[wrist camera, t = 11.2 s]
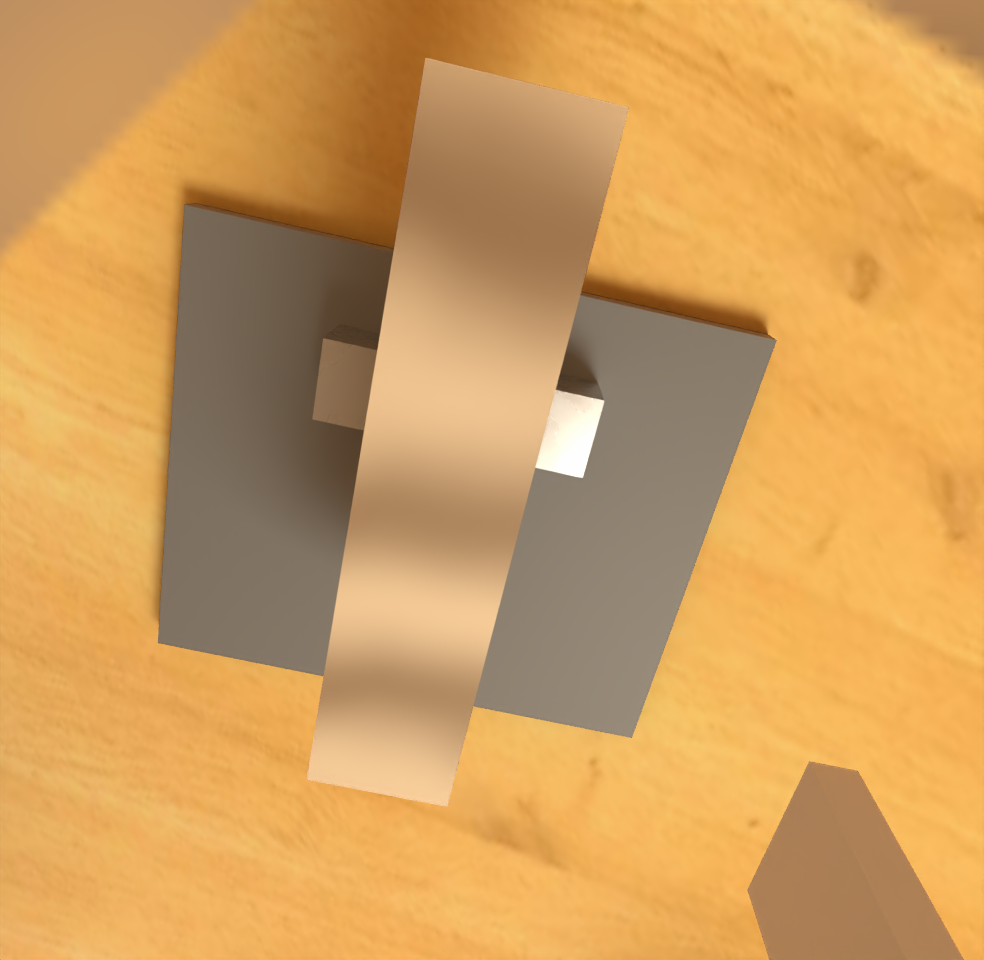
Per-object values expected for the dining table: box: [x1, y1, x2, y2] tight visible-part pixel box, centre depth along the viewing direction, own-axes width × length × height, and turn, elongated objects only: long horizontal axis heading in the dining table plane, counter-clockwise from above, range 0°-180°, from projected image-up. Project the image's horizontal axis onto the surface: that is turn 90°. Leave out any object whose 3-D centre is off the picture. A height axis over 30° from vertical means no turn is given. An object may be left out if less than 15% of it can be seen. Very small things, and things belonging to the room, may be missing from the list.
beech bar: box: [307, 57, 629, 807], centre depth 22 cm, size 20×4×5 cm, turn 168°
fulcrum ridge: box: [312, 324, 604, 478], centre depth 27 cm, size 10×3×6 cm, turn 78°
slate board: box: [158, 203, 777, 738], centre depth 32 cm, size 22×19×1 cm
